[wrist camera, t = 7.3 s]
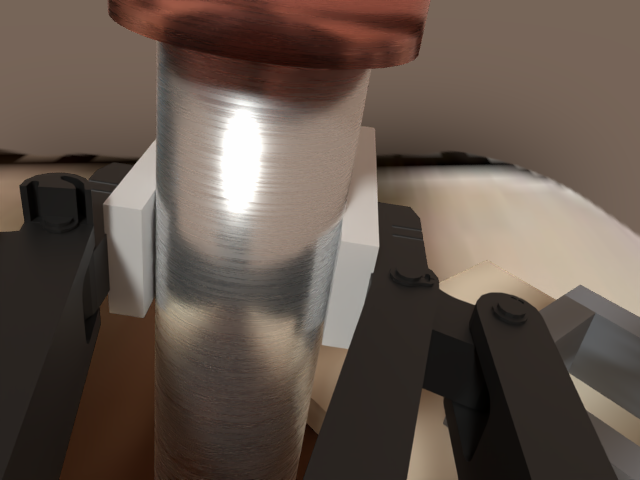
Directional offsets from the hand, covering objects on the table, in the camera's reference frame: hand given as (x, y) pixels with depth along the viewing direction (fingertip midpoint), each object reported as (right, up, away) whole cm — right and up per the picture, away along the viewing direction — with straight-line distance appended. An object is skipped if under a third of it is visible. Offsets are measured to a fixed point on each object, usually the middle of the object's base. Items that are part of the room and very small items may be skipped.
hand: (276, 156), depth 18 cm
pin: (-1, -9, -1) cm, 9 cm away
